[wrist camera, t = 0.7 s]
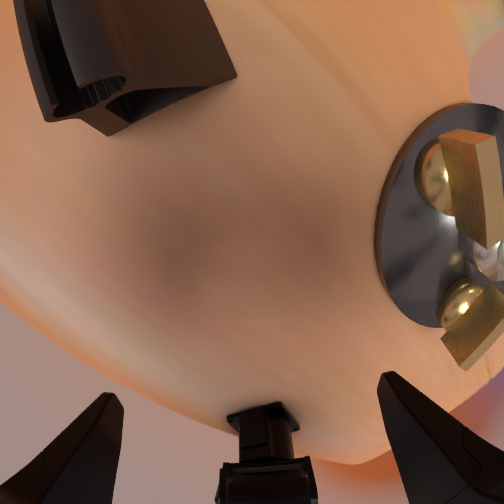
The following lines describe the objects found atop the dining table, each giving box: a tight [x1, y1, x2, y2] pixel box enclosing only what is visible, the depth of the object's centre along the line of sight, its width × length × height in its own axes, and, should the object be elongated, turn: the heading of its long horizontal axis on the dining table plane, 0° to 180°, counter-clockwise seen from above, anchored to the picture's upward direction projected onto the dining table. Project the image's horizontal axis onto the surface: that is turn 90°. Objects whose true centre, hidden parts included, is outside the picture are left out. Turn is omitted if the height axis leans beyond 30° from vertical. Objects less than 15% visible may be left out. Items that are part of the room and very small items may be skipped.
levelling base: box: [374, 103, 504, 328], centre depth 17 cm, size 20×20×7 cm
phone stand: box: [13, 0, 237, 137], centre depth 10 cm, size 9×6×12 cm, turn 110°
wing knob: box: [436, 278, 504, 371], centre depth 19 cm, size 7×5×6 cm
